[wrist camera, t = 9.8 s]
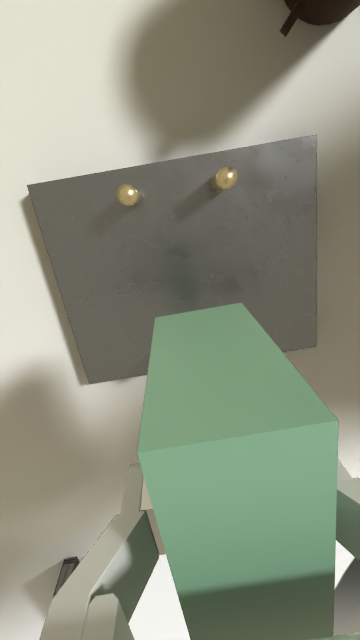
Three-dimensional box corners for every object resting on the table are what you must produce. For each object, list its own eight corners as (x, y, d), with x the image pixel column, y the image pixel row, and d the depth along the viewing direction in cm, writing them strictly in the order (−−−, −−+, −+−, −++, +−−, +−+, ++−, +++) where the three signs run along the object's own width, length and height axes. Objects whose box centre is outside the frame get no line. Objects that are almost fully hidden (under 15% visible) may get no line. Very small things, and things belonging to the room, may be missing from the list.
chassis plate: (306, 140, 21) (342, 120, 17) (308, 339, 26) (335, 362, 22) (36, 187, 21) (3, 180, 17) (93, 375, 27) (79, 405, 22)
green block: (241, 302, 10) (339, 420, 4) (260, 491, 13) (331, 706, 7) (155, 317, 10) (136, 453, 4) (194, 502, 13) (214, 721, 7)
